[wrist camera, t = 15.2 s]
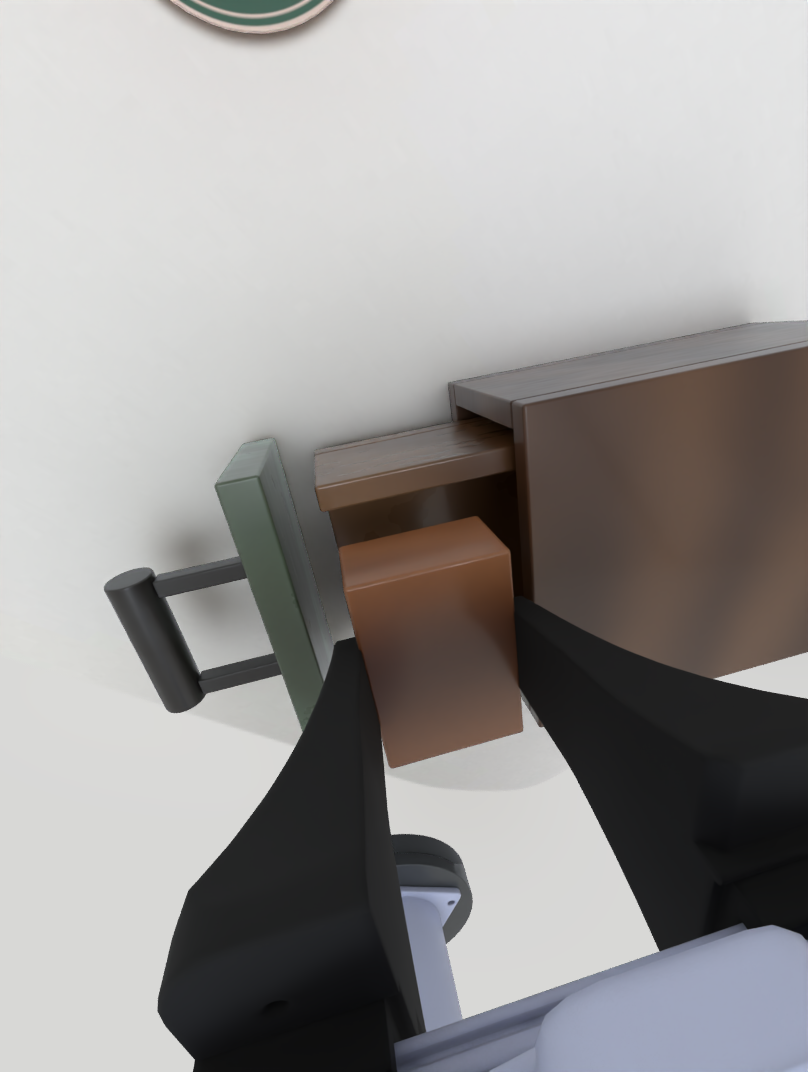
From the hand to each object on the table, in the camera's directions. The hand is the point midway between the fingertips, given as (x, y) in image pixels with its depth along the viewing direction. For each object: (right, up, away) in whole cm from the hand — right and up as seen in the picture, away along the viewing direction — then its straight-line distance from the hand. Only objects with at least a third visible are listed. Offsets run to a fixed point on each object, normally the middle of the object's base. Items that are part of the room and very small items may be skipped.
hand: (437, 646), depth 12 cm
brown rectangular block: (0, +1, +1) cm, 1 cm away
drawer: (-2, +3, +7) cm, 7 cm away
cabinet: (+8, +5, +9) cm, 13 cm away
